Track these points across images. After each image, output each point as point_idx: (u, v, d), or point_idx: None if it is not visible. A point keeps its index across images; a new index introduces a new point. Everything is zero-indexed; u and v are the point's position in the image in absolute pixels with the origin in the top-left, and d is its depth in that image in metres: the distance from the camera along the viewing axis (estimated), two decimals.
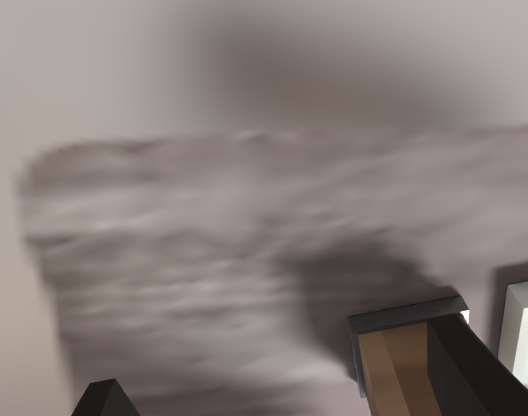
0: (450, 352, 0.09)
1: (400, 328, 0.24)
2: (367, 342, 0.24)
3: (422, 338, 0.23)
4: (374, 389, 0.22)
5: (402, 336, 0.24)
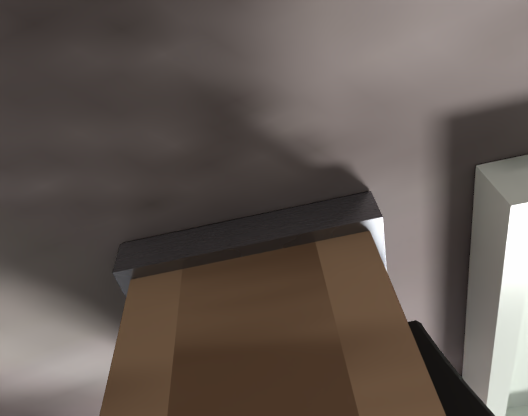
0: None
1: (225, 263, 0.10)
2: (142, 294, 0.10)
3: (265, 282, 0.10)
4: (103, 409, 0.08)
5: (222, 279, 0.10)
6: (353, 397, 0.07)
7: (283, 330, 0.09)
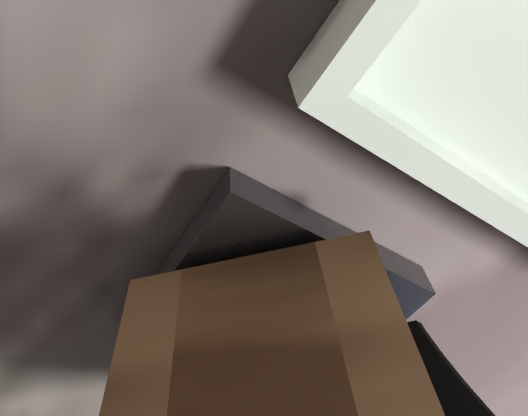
0: None
1: (224, 263, 0.10)
2: (142, 294, 0.10)
3: (265, 282, 0.10)
4: (103, 409, 0.08)
5: (222, 279, 0.10)
6: (352, 397, 0.07)
7: (282, 330, 0.09)
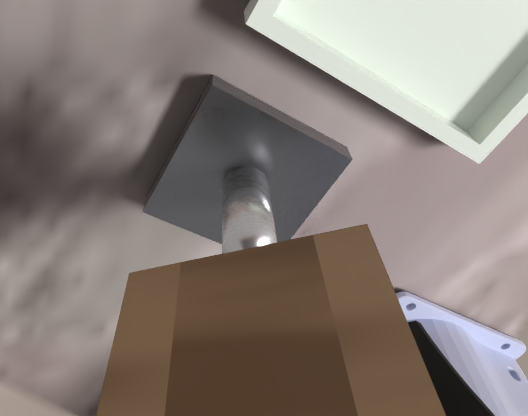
0: None
1: (223, 256, 0.10)
2: (141, 287, 0.10)
3: (263, 274, 0.10)
4: (102, 399, 0.08)
5: (221, 272, 0.10)
6: (349, 386, 0.07)
7: (280, 320, 0.09)
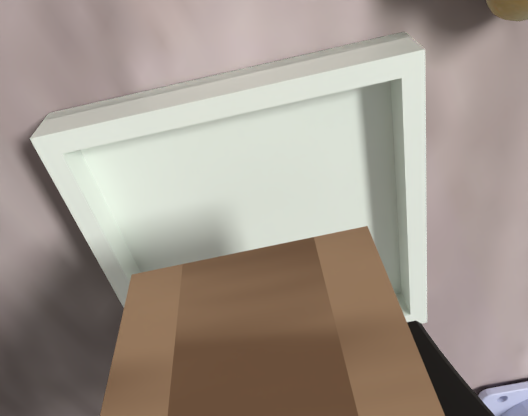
0: None
1: (225, 257, 0.11)
2: (143, 288, 0.10)
3: (264, 276, 0.10)
4: (106, 400, 0.08)
5: (222, 273, 0.10)
6: (350, 388, 0.07)
7: (282, 322, 0.09)
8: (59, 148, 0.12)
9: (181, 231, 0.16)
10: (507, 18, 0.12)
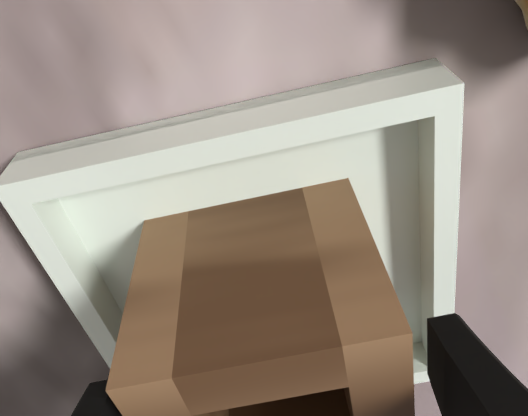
0: (450, 352, 0.09)
1: (225, 205, 0.12)
2: (155, 230, 0.12)
3: (259, 218, 0.11)
4: (125, 311, 0.10)
5: (223, 217, 0.12)
6: (328, 293, 0.09)
7: (273, 250, 0.10)
8: (27, 198, 0.10)
9: None
10: None
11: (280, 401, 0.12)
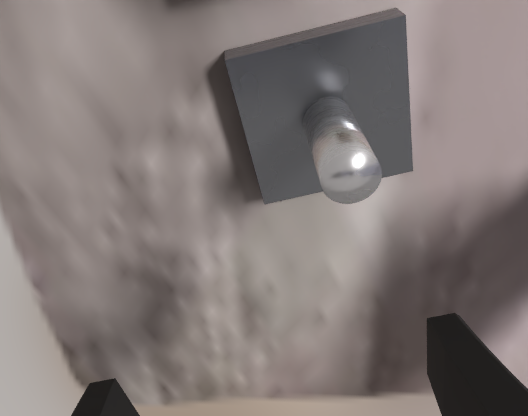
0: (450, 352, 0.09)
1: None
2: None
3: None
4: None
5: None
6: None
7: None
8: None
9: None
10: None
11: None
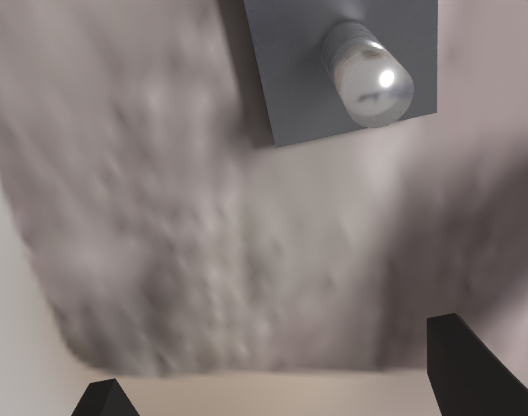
0: (450, 352, 0.09)
1: None
2: None
3: None
4: None
5: None
6: None
7: None
8: None
9: None
10: None
11: None
